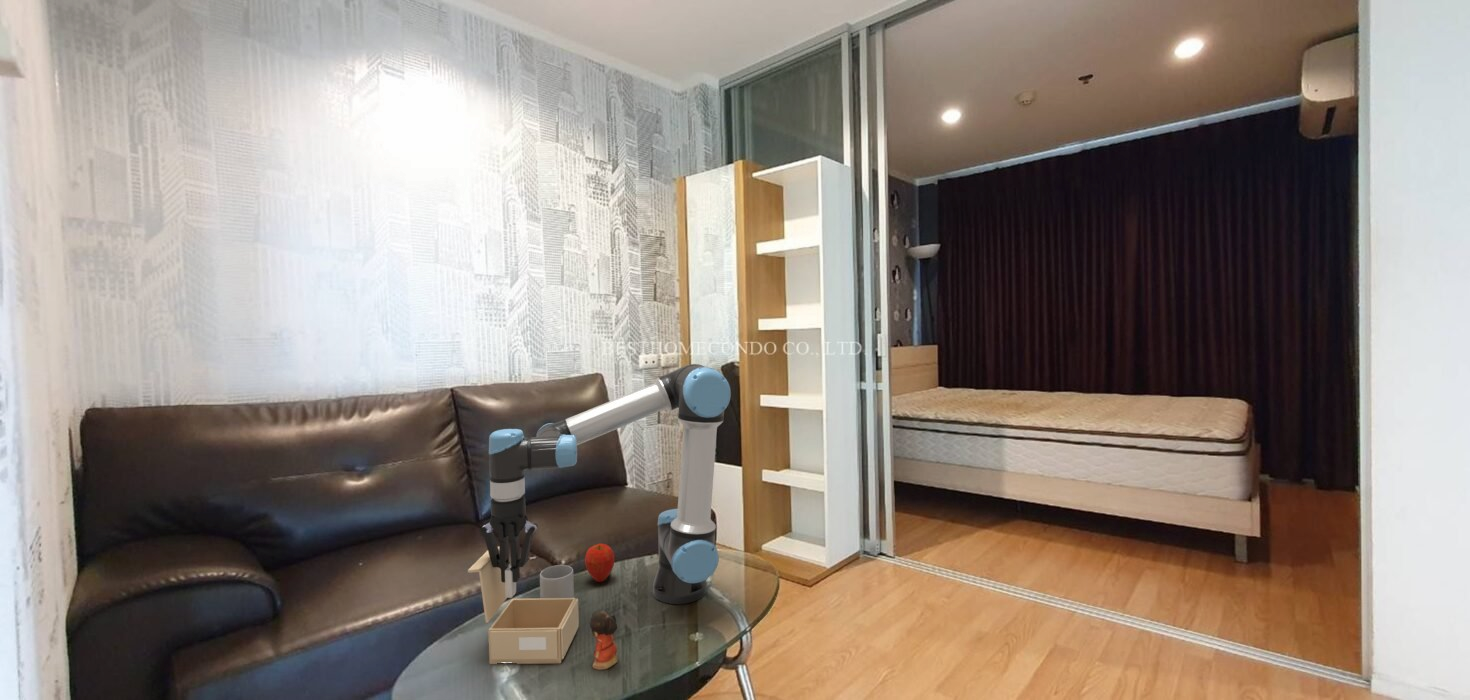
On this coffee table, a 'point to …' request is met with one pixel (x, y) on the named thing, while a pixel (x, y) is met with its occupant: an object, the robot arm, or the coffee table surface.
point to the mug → (557, 582)
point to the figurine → (604, 639)
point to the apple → (599, 561)
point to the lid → (489, 585)
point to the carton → (533, 631)
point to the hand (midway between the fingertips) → (511, 594)
